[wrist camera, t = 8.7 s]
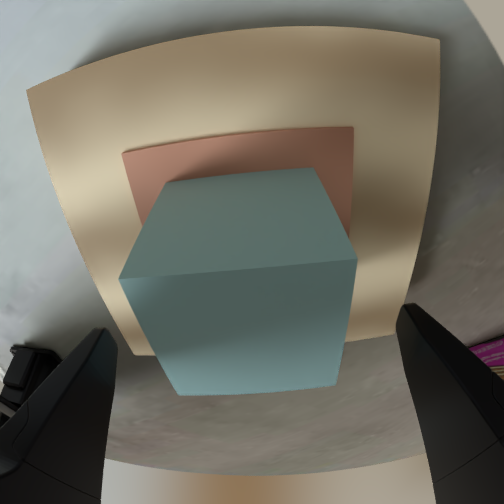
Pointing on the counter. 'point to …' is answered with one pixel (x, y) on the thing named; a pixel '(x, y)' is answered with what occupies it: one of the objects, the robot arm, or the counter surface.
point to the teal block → (243, 283)
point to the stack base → (250, 143)
